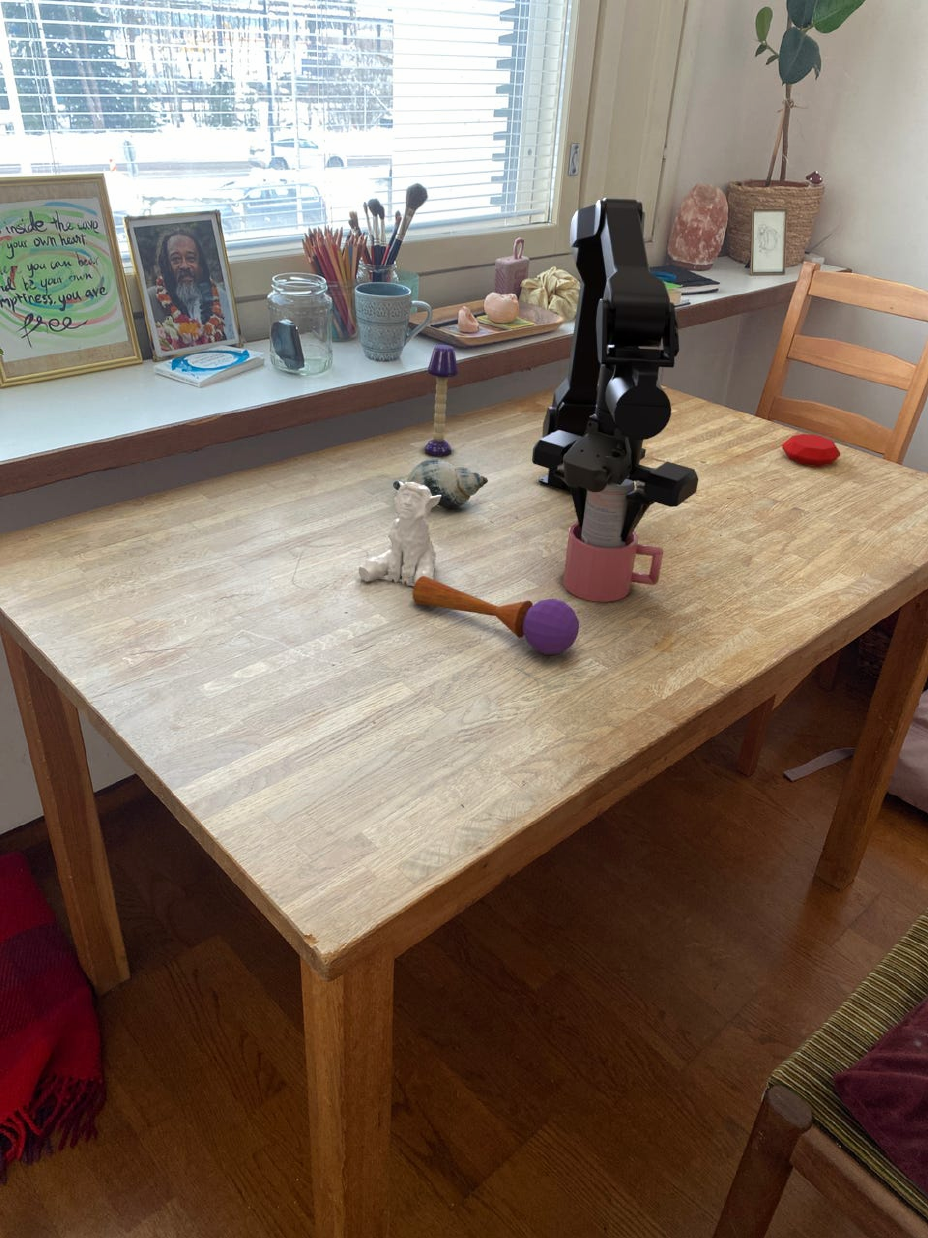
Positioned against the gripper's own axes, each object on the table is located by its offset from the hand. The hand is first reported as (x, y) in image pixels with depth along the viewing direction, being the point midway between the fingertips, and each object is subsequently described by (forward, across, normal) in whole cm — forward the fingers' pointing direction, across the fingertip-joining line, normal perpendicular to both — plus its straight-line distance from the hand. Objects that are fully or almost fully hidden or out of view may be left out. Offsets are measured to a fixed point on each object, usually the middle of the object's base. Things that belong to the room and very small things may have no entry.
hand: (603, 533), depth 112 cm
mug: (+7, +1, +1) cm, 7 cm away
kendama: (+7, -4, -17) cm, 19 cm away
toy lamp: (+7, -41, +22) cm, 47 cm away
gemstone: (+7, +6, +62) cm, 63 cm away
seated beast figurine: (+7, -19, -13) cm, 24 cm away
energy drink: (+5, 0, 0) cm, 5 cm away
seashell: (+7, -29, +6) cm, 31 cm away
